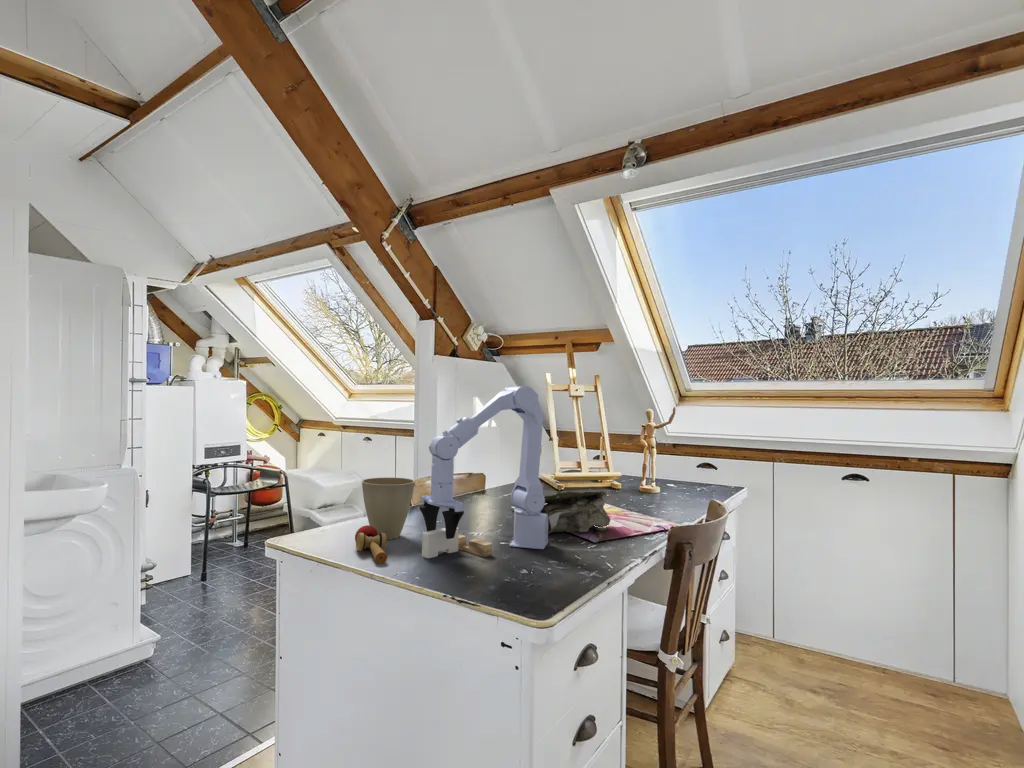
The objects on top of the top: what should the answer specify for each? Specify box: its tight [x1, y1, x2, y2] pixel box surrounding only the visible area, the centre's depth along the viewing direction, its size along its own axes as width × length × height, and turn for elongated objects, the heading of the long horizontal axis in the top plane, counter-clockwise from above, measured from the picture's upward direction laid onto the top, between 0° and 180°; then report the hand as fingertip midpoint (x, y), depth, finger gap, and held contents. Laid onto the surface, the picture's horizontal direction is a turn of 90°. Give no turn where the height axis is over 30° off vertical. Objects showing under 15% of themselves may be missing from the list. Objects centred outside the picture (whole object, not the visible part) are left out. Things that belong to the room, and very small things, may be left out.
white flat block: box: [421, 527, 460, 559], centre depth 142 cm, size 2×10×6 cm, turn 137°
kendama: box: [354, 524, 388, 565], centre depth 141 cm, size 8×6×18 cm
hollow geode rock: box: [540, 490, 611, 535], centre depth 169 cm, size 28×13×15 cm
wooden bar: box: [458, 533, 493, 558], centre depth 147 cm, size 16×2×3 cm, turn 47°
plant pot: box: [361, 476, 416, 540], centre depth 158 cm, size 15×15×16 cm
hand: (440, 535), depth 142 cm, fingers open, 7 cm apart
